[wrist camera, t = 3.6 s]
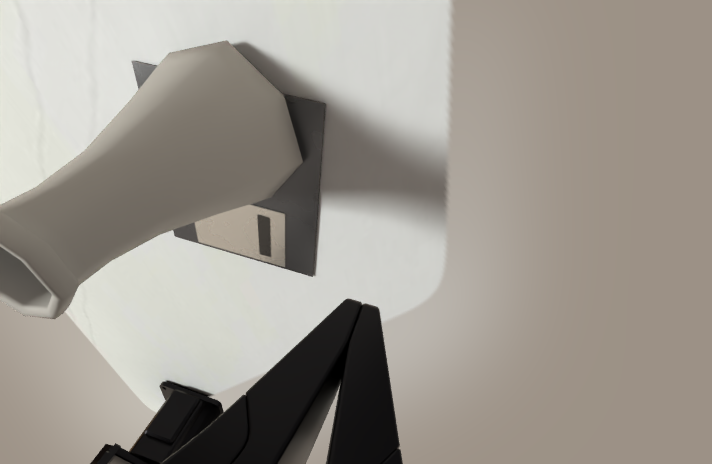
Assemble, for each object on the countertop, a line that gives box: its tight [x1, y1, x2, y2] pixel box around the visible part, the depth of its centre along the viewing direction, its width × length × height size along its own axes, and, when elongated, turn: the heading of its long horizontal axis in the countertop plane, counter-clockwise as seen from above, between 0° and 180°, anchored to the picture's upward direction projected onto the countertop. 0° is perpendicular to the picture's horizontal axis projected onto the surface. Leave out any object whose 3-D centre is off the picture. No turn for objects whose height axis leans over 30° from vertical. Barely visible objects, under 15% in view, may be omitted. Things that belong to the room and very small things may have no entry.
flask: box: [0, 41, 303, 319], centre depth 12 cm, size 7×7×10 cm
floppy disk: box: [132, 61, 325, 277], centre depth 18 cm, size 10×9×1 cm
